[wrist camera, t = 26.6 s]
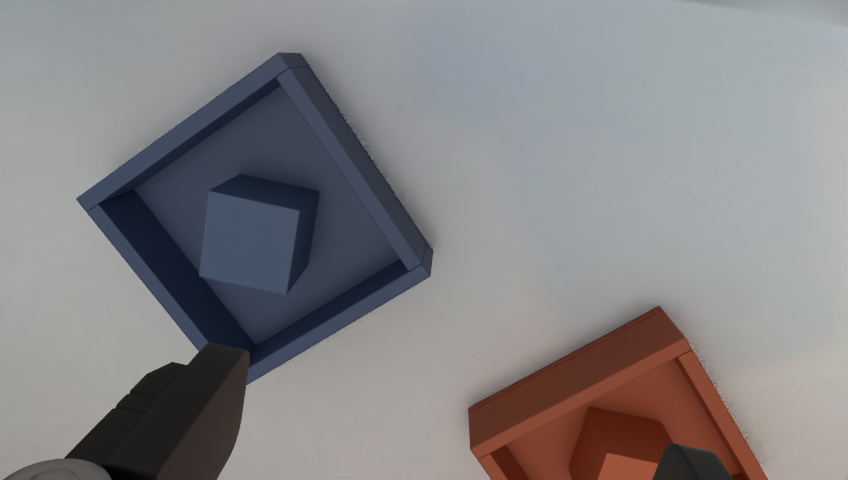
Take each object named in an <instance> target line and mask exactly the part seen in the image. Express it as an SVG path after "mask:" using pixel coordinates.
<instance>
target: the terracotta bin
mask: <svg viewBox="0 0 848 480" xmlns="http://www.w3.org/2000/svg"><path fill="white" fill-rule="evenodd" d="M589 407H594V408H599V409H603V410H608V411H613V412H617V413H622V414H627V415H631V416H636V417H640V418H645V419H650V420H654V421H659V422H662V424H663V425H664V427H665V429H666V431H667V432H668V434H669V436H670V438H671V439H672V441H673V443H675V444H680V445H684V446H689V447H694V448H698V449H703V450H708V451H712V452H714V453H715V454H716V455H717V456H718V458H719V459H720V461H721V462H722V464H723V465H724V467H725V468H726V470H727V471H728V473H729V474H730V476H731V477H732V479H733V480H768V479H767V477H766V475H765V474H764V472H763V470H762V469H761V467H760V465H759V463H758V462H757V460H756V458H755V456H754V455H753V453H752V451H751V450H750V448H749V446H748V444H747V443H746V441H745V439H744V438H743V436H742V434H741V432H740V431H739V429H738V427H737V425H736V424H735V422H734V420H733V419H732V417H731V415H730V413H729V412H728V410H727V408H726V407H725V405H724V403H723V401H722V400H721V398H720V396H719V394H718V393H717V391H716V389H715V388H714V386H713V384H712V382H711V381H710V379H709V377H708V376H707V374H706V372H705V370H704V369H703V367H702V365H701V363H700V362H699V360H698V358H697V357H696V355H695V353H694V351H693V350H692V349H691V346H690V345H689V343H688V341H687V340H686V338H685V337H684V335H683V334H682V333H681V332H680V331H679V329H678V328H677V327H676V326H675V325H674V323H673V322H672V321H671V320H670V319H669V317H668V316H667V315H666V314H665V313H664V311H663V310H662V309H661V308H660V307H657V308H656V309H654V310H652V311H650V312H648V313H646V314H644V315H643V316H641V317H639V318H637V319H635V320H633V321H631V322H629V323H628V324H626V325H624V326H622V327H620V328H618V329H616V330H614V331H613V332H611V333H609V334H607V335H605V336H603V337H601V338H599V339H598V340H596V341H594V342H592V343H590V344H588V345H586V346H584V347H583V348H581V349H579V350H577V351H575V352H573V353H571V354H570V355H568V356H566V357H564V358H562V359H560V360H558V361H556V362H555V363H553V364H551V365H549V366H547V367H545V368H543V369H541V370H540V371H538V372H536V373H534V374H532V375H530V376H528V377H526V378H525V379H523V380H521V381H519V382H517V383H515V384H513V385H512V386H510V387H508V388H506V389H504V390H502V391H500V392H498V393H497V394H495V395H493V396H491V397H489V398H487V399H485V400H483V401H482V402H480V403H478V404H476V405H474V406H472V407H470V408H469V409H468V413H469V434H470V450H471V451H472V453H473V454H474V456H475V457H476V458H477V459H478V461H479V463H480V464H481V466H482V467H483V468H484V470H485V471H486V473H487V474H488V475H489V477H490V478H491V480H572V479H571V475H570V472H569V465H570V462H571V459H572V456H573V453H574V450H575V447H576V444H577V441H578V438H579V435H580V432H581V429H582V426H583V423H584V420H585V417H586V414H587V411H588V408H589Z"/></svg>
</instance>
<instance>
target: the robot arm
mask: <svg viewBox="0 0 848 480" xmlns="http://www.w3.org/2000/svg"><path fill="white" fill-rule="evenodd" d="M249 359H250V355H249V351H248V350H243V349H239V348H234V347H229V346H225V345H220V344H216V343H211V342H209V343H207V344H206V345H205V346H204V347H203V348H202V349H201V350H200V352H199V353H198V354H197V355H196V356H195V357H194V358H193V359H192V361H191V362H190V363H189V364H188V365H183V364H179V363H174V362H171V363H169V364H167V365H165V366H163V367H161V368H159V369H156V370H154V371H152V372H150V373H148V374H146V375H145V376H144V377H143V378H142V379H141V380H140V382H139V383H138V384H137V385H136V386H135V387H134V388H133V389H132V390H131V391H130V394H127V395H126V396H125V397H124V398H123V399H122V400H121V401H120V402H119V403H118V404H117V406H116V408H115V409H114V408H113V409H112V410H111V411H110V412H109V413H108V414H107V415H106V416H105V417H104V418H103V419H102V420H101V421H100V422H99V423H98V424H97V425H96V426H95V427H94V428H93V429H92V430H91V431H90V432H89V433H88V434H87V435H86V436H85V437H84V438H83V439H82V440H81V441H80V442H79V443H78V444H77V445H76V446H75V448H74V449H73V450H72V451H71V452H70V453H69V454H68V455H67V456H66V457H65V458H64V459H54V460H47V461H43V462H39V463H35V464H32V465H29V466H27V467H24V468H22V469H20V470H18V471H16V472H14V473H12V474H11V475H9V476H8V477H6V478H5V479H4V480H217V478H218V476H219V474H220V473H221V471H222V469H223V467H224V466H225V464H226V462H227V460H228V459H229V457H230V455H231V453H232V450H233V448H234V445H235V442H236V439H237V436H238V433H239V429H240V424H241V418H242V411H243V403H244V396H245V389H246V382H247V375H248V368H249ZM652 480H733V479H732V477H731V476H730V474H729V473H728V471H727V470H726V468H725V467H724V465H723V464H722V462H721V461H720V459H719V458H718V456H717V455H716V454H715V453H714V452H712V451H708V450H703V449H698V448H694V447H689V446H684V445H680V444H675V443H671V444H669V445H668V446H667V447H666V448H665V449H664V451H663V453H662V456H661V458H660V461H659V463H658V466H657V469H656V471H655V474H654V476H653V479H652Z"/></svg>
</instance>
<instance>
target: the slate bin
mask: <svg viewBox="0 0 848 480" xmlns="http://www.w3.org/2000/svg"><path fill="white" fill-rule="evenodd" d="M239 174H243V175H248V176H252V177H257V178H261V179H266V180H270V181H275V182H280V183H284V184H289V185H293V186H298V187H303V188H307V189H312V190H316V191H319V192H320V194H319V200H318V206H317V212H316V218H315V225H314V231H313V237H312V243H311V249H310V255H309V261H308V266H307V268H306V269H305V270H304V272H303V273H302V275H301V276H300V277H299V279H298V280H297V281H296V283H295V284H294V286H293V287H292V288H291V290H290V291H289V293H288V294H287V295H282V294H277V293H273V292H268V291H263V290H259V289H254V288H250V287H245V286H240V285H236V284H231V283H226V282H222V281H217V280H213V279H208V278H203V277H199V269H200V260H201V251H202V242H203V233H204V223H205V214H206V205H207V196H208V191H209V190H211V189H212V188H214V187H216V186H218V185H220V184H222V183H224V182H226V181H228V180H230V179H231V178H233V177H235V176H237V175H239ZM76 200H77V201H78V202H79V204H80V205H81V206H82V207H83V208H84V210H85V211H86V212H87V214H88V215H89V216H90V217H91V218H92V220H93V221H94V222H95V223H96V225H97V226H98V227H99V228H100V230H101V231H102V232H103V233H104V235H105V236H106V237H107V238H108V240H109V241H110V242H111V243H112V244H113V246H114V247H115V248H116V249H117V251H118V252H119V253H120V254H121V256H122V257H123V258H124V259H125V261H126V262H127V263H128V264H129V266H130V267H131V268H132V269H133V270H134V272H135V273H136V274H137V275H138V277H139V278H140V279H141V280H142V282H143V283H144V284H145V285H146V287H147V288H148V289H149V290H150V292H151V293H152V294H153V295H154V296H155V298H156V299H157V300H158V301H159V303H160V304H161V305H162V306H163V308H164V309H165V310H166V311H167V313H168V314H169V315H170V316H171V318H172V319H173V320H174V321H175V322H176V324H177V325H178V326H179V327H180V329H181V330H182V331H183V332H184V334H185V335H186V336H187V337H188V339H189V340H190V341H191V342H192V344H193V345H194V346H195V347H196V349H197V350H198V351H199V352H200V350H201V349H202V348H203V347H204V346H205V345H206V344H207V343H209V342H211V343H216V344H220V345H225V346H229V347H234V348H239V349H243V350H248V351H249V355H250V359H249V368H248V375H247V382H246V385H248V384H250V383H251V382H253V381H255V380H256V379H258V378H260V377H261V376H263V375H265V374H266V373H268V372H270V371H271V370H273V369H275V368H277V367H278V366H280V365H282V364H283V363H285V362H287V361H288V360H290V359H292V358H293V357H295V356H297V355H298V354H300V353H302V352H304V351H305V350H307V349H309V348H310V347H312V346H314V345H315V344H317V343H319V342H320V341H322V340H324V339H325V338H327V337H329V336H330V335H332V334H334V333H336V332H337V331H339V330H341V329H342V328H344V327H346V326H347V325H349V324H351V323H352V322H354V321H356V320H357V319H359V318H361V317H363V316H364V315H366V314H368V313H369V312H371V311H373V310H374V309H376V308H378V307H379V306H381V305H383V304H384V303H386V302H388V301H389V300H391V299H393V298H395V297H396V296H398V295H400V294H401V293H403V292H405V291H406V290H408V289H410V288H411V287H413V286H415V285H416V284H418V283H420V282H421V281H423V280H425V279H427V278H428V277H430V274H431V265H432V257H433V250H432V249H431V247H430V246H429V244H428V243H427V241H426V240H425V238H424V237H423V235H422V234H421V232H420V231H419V229H418V228H417V226H416V225H415V223H414V222H413V220H412V219H411V217H410V216H409V214H408V213H407V212H406V210H405V209H404V207H403V206H402V204H401V203H400V201H399V200H398V198H397V197H396V195H395V194H394V192H393V191H392V189H391V188H390V186H389V185H388V183H387V182H386V180H385V179H384V177H383V176H382V174H381V173H380V171H379V170H378V168H377V167H376V165H375V164H374V162H373V161H372V159H371V158H370V156H369V155H368V153H367V152H366V150H365V149H364V147H363V146H362V144H361V143H360V141H359V140H358V138H357V137H356V135H355V134H354V132H353V131H352V129H351V128H350V126H349V125H348V123H347V122H346V120H345V119H344V117H343V116H342V114H341V113H340V111H339V110H338V108H337V107H336V105H335V104H334V102H333V101H332V99H331V98H330V96H329V95H328V93H327V92H326V90H325V89H324V88H323V86H322V85H321V83H320V82H319V80H318V79H317V77H316V76H315V74H314V73H313V71H312V70H311V68H310V67H309V65H308V64H307V62H306V61H305V59H304V58H303V56H302V55H301V54H298V53H277V54H276V55H274V56H273V57H272V58H270V59H269V60H267V61H266V62H265V63H263V64H262V65H261V66H259V67H258V68H256V69H255V70H254V71H252V72H251V73H249V74H248V75H247V76H245V77H244V78H243V79H241V80H240V81H238V82H237V83H236V84H234V85H233V86H231V87H230V88H229V89H227V90H226V91H225V92H223V93H222V94H220V95H219V96H218V97H216V98H215V99H213V100H212V101H211V102H209V103H208V104H207V105H205V106H204V107H202V108H201V109H200V110H198V111H197V112H195V113H194V114H193V115H191V116H190V117H189V118H187V119H186V120H184V121H183V122H182V123H180V124H179V125H177V126H176V127H175V128H173V129H172V130H171V131H169V132H168V133H166V134H165V135H164V136H162V137H161V138H159V139H158V140H157V141H155V142H154V143H153V144H151V145H150V146H148V147H147V148H146V149H144V150H143V151H141V152H140V153H139V154H137V155H136V156H135V157H133V158H132V159H130V160H129V161H128V162H126V163H125V164H123V165H122V166H121V167H119V168H118V169H117V170H115V171H114V172H112V173H111V174H110V175H108V176H107V177H105V178H104V179H103V180H101V181H100V182H99V183H97V184H96V185H94V186H93V187H92V188H90V189H89V190H87V191H86V192H85V193H83V194H82V195H81V196H79V197H78V198H77V199H76Z"/></svg>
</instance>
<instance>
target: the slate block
mask: <svg viewBox="0 0 848 480" xmlns="http://www.w3.org/2000/svg"><path fill="white" fill-rule="evenodd" d="M319 194H320V192H319V191H316V190H312V189H307V188H303V187H298V186H293V185H289V184H284V183H280V182H275V181H270V180H266V179H261V178H257V177H252V176H248V175H243V174H239V175H237V176H235V177H233V178H231V179H230V180H228V181H226V182H224V183H222V184H220V185H218V186H216V187H214V188H212V189H211V190H209V191H208V196H207V205H206V214H205V223H204V233H203V242H202V251H201V260H200V269H199V277H203V278H208V279H213V280H217V281H222V282H226V283H231V284H236V285H240V286H245V287H250V288H254V289H259V290H263V291H268V292H273V293H277V294H282V295H287V294H288V293H289V291H290V290H291V288H292V287H293V286H294V284H295V283H296V281H297V280H298V279H299V277H300V276H301V275H302V273H303V272H304V270H305V269H306V268H307V266H308V261H309V255H310V249H311V243H312V237H313V231H314V225H315V218H316V212H317V206H318V200H319Z"/></svg>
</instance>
